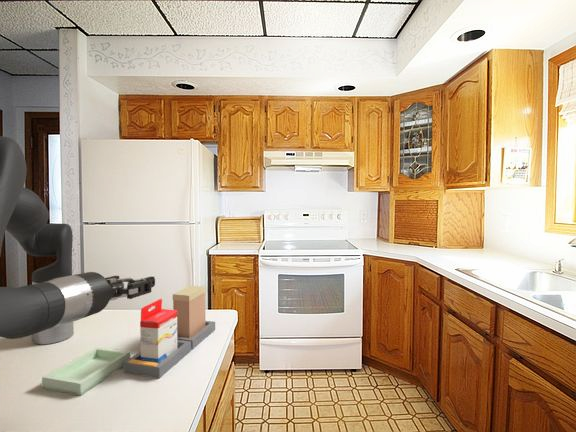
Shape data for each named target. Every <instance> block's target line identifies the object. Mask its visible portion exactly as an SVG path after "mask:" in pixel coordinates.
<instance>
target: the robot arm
mask: <svg viewBox="0 0 576 432" xmlns="http://www.w3.org/2000/svg"><path fill="white" fill-rule="evenodd" d="M27 167H28V166H27V161H26V158H25V154H24V153H23V149H22V148H21V146H20V144H19V143H18V142H17V141H16V139H14V138H11V137H9V136H8V137H7V136H4V135H3V136H1V135H0V256H1V253H2V246H3V242H4V237H5V233H6V231H7V232H8V233H9V234H10V235H11V236H12V237H13V238H14V239H15V240H16V241H17V242H18V243H19V245H20V247H22V249H23V251H24V252H26V254H27V255H29V256H33V257H56V260H55V261H54V262H52V263H50V264H49V265H46V266H43V267H40V268H38V269H35V270H34V271H33V272H32V273H31V283H32V284H28V285H23V286H19V287H9V286H0V338H3V339H6V340H16V339H23V338H26V337H29V336H31V340H32V341H33V343H34V344H37V345H49V344H55V343H59V342H62V341H65V340H68V339H70V338H71V337H73V335H74V333H75V331H74V329H75V328H74V322H77V321H79V320H82V319H84V318H87V317H90V316H93V315H96V314H98V313H101V312H102V311H103V310H104V309H105V308H106V307H107V306H108V304H109V303H110V301H116V300H118V299H121V298H126V299H128V300H132V299H135V298H137V297H141V296H144V295H147V294H150V293H152V289H153V288H154V287H156V278H155V276H147V277H144V278H143V277H142V278H139V279H134V278H131V277H123V278H120V275H111V276H108V277H104V275H102V274H100V273H99V272H95V271H87V272H81V273H79V274H77V273H76V274H73V238H74V237H73V229H72V227H71V225H70V224H68V223H48V221H49V216H50V215H49V213H50V212H49V210H48V207H47V206H46V204H45V202H44V201H43V199H41V198H40V196H39V195H38V194H36V192H34V191H33V190H31V189H29V188H27V187H25V183H26V180H27V172H28V171H27V170H28V169H27ZM126 282H127V284H126V287H125V284H124V283H126Z"/></svg>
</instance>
